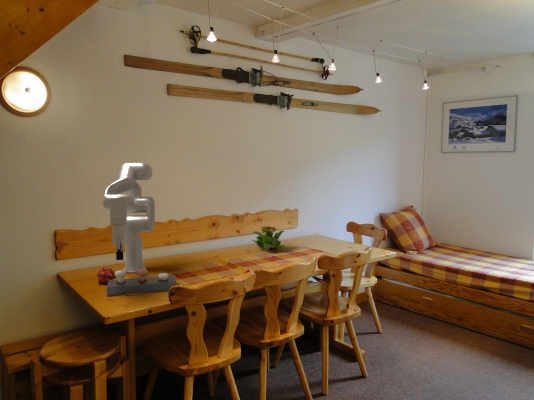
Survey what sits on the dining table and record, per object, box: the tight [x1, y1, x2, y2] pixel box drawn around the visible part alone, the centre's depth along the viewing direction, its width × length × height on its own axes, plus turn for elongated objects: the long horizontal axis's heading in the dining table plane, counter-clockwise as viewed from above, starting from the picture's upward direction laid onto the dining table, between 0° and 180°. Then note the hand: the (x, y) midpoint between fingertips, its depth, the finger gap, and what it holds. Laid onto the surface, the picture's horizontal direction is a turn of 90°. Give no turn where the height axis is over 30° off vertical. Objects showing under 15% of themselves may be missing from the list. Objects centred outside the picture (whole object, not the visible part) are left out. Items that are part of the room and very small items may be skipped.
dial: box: [136, 268, 149, 282], centre depth 203 cm, size 5×5×6 cm
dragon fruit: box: [96, 266, 117, 285], centre depth 213 cm, size 8×8×12 cm
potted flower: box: [252, 225, 287, 253], centre depth 284 cm, size 25×24×18 cm
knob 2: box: [157, 272, 169, 281], centre depth 206 cm, size 5×5×6 cm
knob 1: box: [114, 269, 127, 284], centre depth 200 cm, size 5×5×6 cm
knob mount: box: [106, 274, 177, 297], centre depth 203 cm, size 12×32×4 cm, turn 106°
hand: (119, 259), depth 198 cm, fingers closed
